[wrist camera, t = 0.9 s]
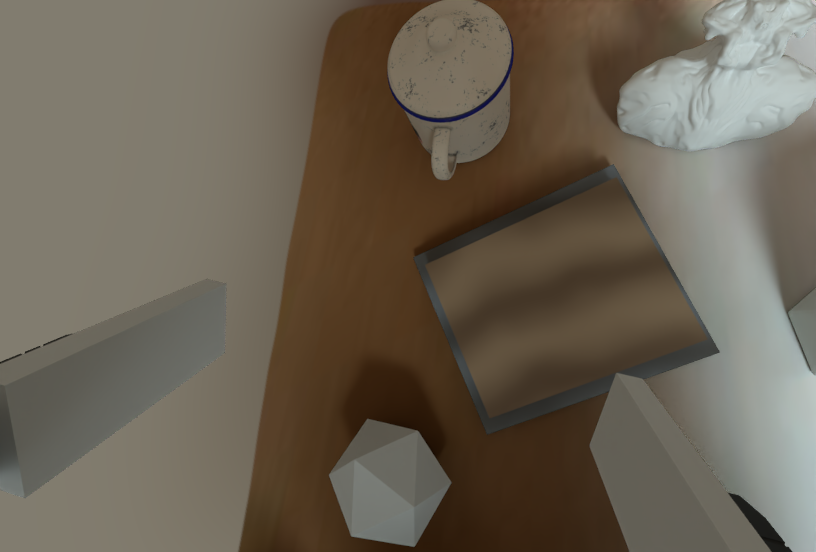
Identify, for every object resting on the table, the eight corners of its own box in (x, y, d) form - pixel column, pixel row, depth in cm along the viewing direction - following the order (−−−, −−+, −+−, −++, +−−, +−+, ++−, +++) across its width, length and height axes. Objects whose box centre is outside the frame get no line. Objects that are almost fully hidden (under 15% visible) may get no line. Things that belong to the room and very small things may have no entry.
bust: (761, 129, 32) (864, -50, 24) (794, 180, 27) (938, -23, 19) (601, 124, 35) (643, -35, 27) (605, 168, 30) (657, -9, 22)
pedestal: (712, 351, 29) (735, 354, 26) (487, 431, 32) (485, 442, 29) (610, 168, 32) (620, 153, 29) (415, 259, 36) (407, 253, 33)
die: (364, 400, 36) (287, 487, 29) (431, 389, 30) (356, 494, 23) (409, 469, 37) (346, 568, 30) (482, 470, 31) (426, 594, 24)
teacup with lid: (422, 74, 37) (384, -31, 26) (519, 72, 35) (523, -44, 24) (403, 194, 37) (355, 138, 25) (501, 201, 34) (496, 143, 23)
